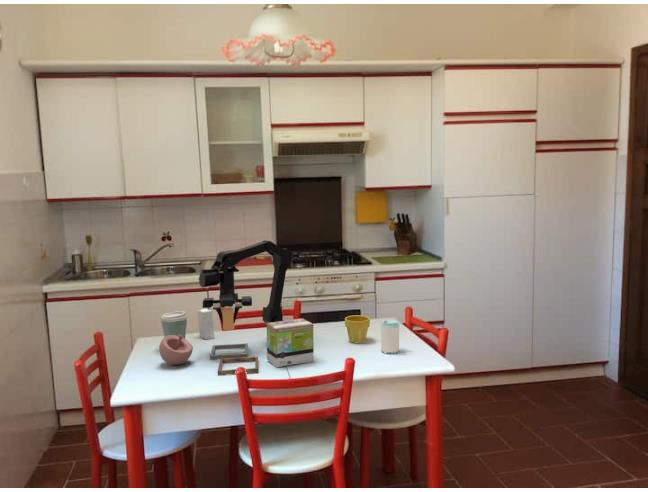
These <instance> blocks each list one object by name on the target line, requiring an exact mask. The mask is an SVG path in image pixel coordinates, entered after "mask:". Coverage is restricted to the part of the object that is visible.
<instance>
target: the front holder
mask: <svg viewBox="0 0 648 492" xmlns="http://www.w3.org/2000/svg"><path fill="white" fill-rule="evenodd" d="M248 362H249V363H251V362H255V363H254V364H255V365H254V367H251V368H245V369H246V372H247V374H246V375H248V374H250V375H251V374H259V356H248V357H241V358H223V359H219V363H218V368H217V376H227V375H226V374H232V375H236V374H235V371H236V369H237V368H235V369H234V368H233V369H231V368H230V369H223V364H231V363H232V364H233V363H248Z"/></svg>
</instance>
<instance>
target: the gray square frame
mask: <svg viewBox="0 0 648 492" xmlns="http://www.w3.org/2000/svg"><path fill="white" fill-rule="evenodd" d="M229 349H230V350H231V349H244V353H243V352H242V353H225V354H223V353H222V354H215V353H216V350H229ZM248 352H249V343H231V344H214V345H212V347H211V351H210V354H209V357H210V361H211V360H212V361H213V360H220V359H223V358H241V357H249V353H248Z"/></svg>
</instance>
